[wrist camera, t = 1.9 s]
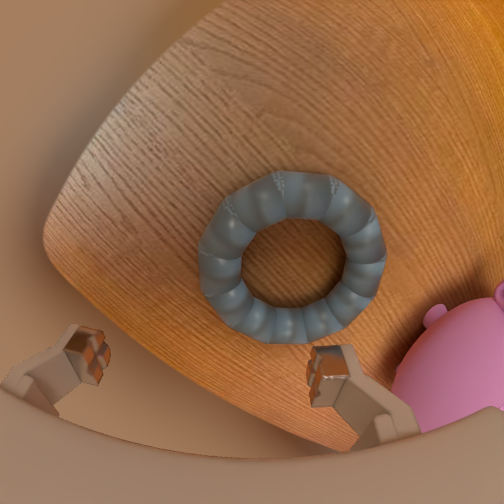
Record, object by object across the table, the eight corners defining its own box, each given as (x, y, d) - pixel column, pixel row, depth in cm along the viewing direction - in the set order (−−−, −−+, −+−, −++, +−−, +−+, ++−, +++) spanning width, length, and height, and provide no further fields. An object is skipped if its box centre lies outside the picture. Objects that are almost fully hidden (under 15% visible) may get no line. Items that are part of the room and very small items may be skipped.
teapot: (438, 396, 25) (469, 470, 13) (345, 413, 24) (365, 512, 13) (517, 260, 16) (593, 332, 5) (425, 246, 16) (544, 374, 4)
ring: (200, 165, 14) (190, 171, 12) (389, 179, 14) (409, 189, 12) (206, 324, 19) (201, 348, 16) (354, 326, 19) (364, 348, 16)
